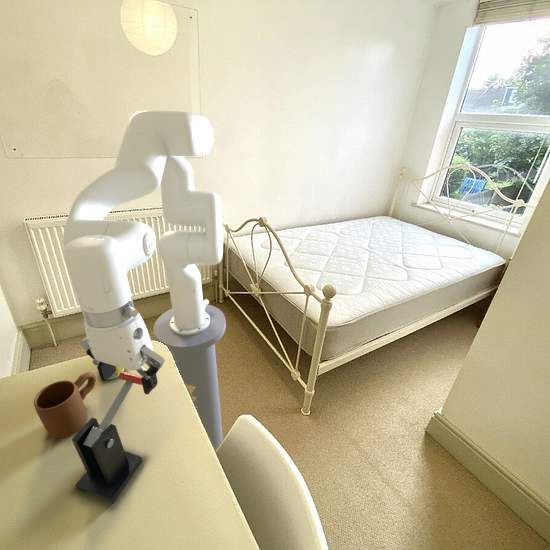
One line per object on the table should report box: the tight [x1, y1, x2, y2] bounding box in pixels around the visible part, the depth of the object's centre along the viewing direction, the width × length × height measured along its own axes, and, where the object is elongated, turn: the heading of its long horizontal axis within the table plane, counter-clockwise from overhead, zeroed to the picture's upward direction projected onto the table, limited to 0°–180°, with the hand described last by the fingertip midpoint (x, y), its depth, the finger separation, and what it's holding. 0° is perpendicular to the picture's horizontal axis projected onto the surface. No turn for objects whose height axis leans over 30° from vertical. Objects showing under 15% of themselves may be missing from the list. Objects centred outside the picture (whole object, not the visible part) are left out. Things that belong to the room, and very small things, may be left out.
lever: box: [83, 371, 142, 447], centre depth 56 cm, size 13×5×2 cm, turn 164°
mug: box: [33, 371, 97, 439], centre depth 67 cm, size 12×8×9 cm, turn 153°
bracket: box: [71, 417, 143, 505], centre depth 55 cm, size 8×8×13 cm
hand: (130, 382), depth 59 cm, fingers open, 9 cm apart
